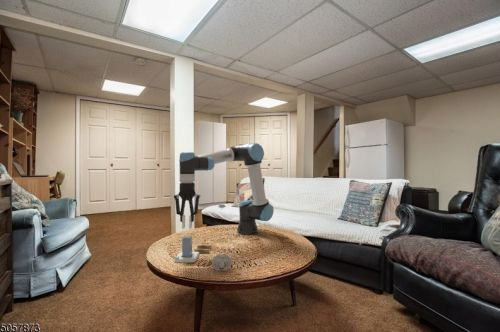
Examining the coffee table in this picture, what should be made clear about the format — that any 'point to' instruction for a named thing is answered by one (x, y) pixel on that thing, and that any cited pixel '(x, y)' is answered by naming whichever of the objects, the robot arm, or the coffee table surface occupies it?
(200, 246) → the wooden rail base
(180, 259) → the port
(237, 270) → the coffee table surface
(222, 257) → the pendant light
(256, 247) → the coffee table surface
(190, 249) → the plug
